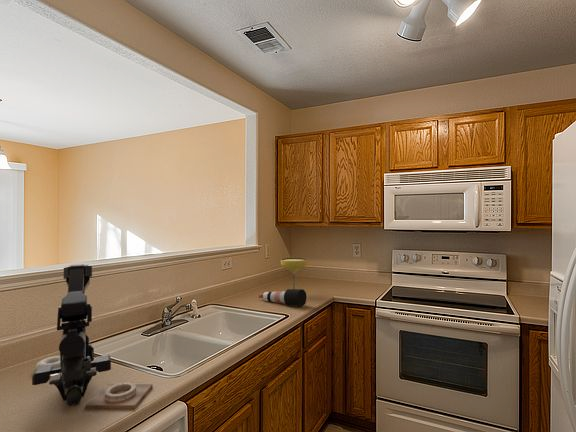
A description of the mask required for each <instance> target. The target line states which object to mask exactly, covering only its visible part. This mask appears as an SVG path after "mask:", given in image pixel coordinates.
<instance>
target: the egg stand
mask: <svg viewBox="0 0 576 432" xmlns="http://www.w3.org/2000/svg"><path fill="white" fill-rule="evenodd" d="M152 389H153V384H152V383H133V382H130V381H128V382H127V381H124V382H119V383H108V384H106V385H105V386H104V387H103V388H102V389H101V390H100V391H99V392H98V393H96V394H95V395H94V396H93V397H92V398H91V399H90V400H89V401H88V402H87V403H85V404H84V410H135V409H136V408H137V407H138V405H140V403H141V402H142V401H143V399H145V397H146V396H147V395H148V393H149V392H150V391H151V390H152Z"/></svg>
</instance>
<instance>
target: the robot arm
mask: <svg viewBox="0 0 576 432" xmlns="http://www.w3.org/2000/svg"><path fill="white" fill-rule="evenodd" d="M91 278H93V266H91V265H89V264H84V263H83V264H71V265H67V267H63V280H65V282H66V287H68V288H67V294H65V296H64V297H63V298H61V304H60V305H59V306H58V308H57V310H58V311H57V324H56V331H61V332H62V334H61V335H62V336H61V339H60V342H59V345H58V351H59V356H60V367H61V368H55V369H52V365H49V366H43V367H38V368H37V369H36V370H35V369H34V372H33V375H32V378H31V383H32V386H37V385H44V384H46V383H48V384H49V385H51V386H52V385H53V386H55V387H56V389H57V390H58V392H59V394H60V397H61V398H62V401H63V402H66V400H65V397H66V393H67V391H66V388H70V387H71V386H73V385H77V386H79V387H80V388H81V387H82V389H81V390H82V398H84V397H85V395H86V391H87V389H88V385H89V383H90V382H91V379H92V377H95V376H97V374H98V373H102V372H103V373H104V372H108V371H110V370H112V359H111V358H112V357H111V356H110V355H109V354H105V355H99V356H96V357H95V348H94V347H93V345H92V343H90V338H89V337H88V335H87V333H86V332H87V331H86V330H87V328H86V327H89V326H90V323H92V321H93V314H92V313H93V307H92V306H91V303H90V302H89V303H88V296H87V294H85V292H86V290H87V289H88V286H89V285H90V283H91ZM94 357H95V358H94ZM97 372H98V373H97Z"/></svg>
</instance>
